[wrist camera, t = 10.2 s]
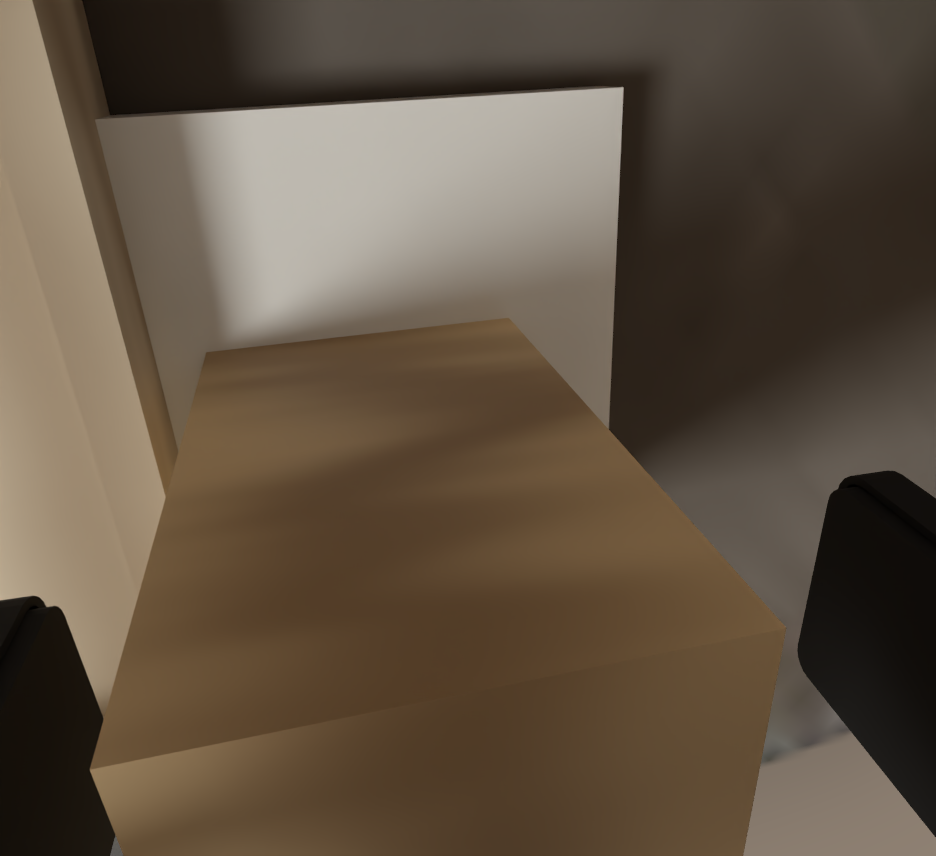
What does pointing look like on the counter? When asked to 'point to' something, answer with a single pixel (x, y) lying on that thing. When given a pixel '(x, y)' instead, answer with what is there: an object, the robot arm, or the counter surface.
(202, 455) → the oak block
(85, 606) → the bin
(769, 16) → the counter surface
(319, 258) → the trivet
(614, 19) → the counter surface
